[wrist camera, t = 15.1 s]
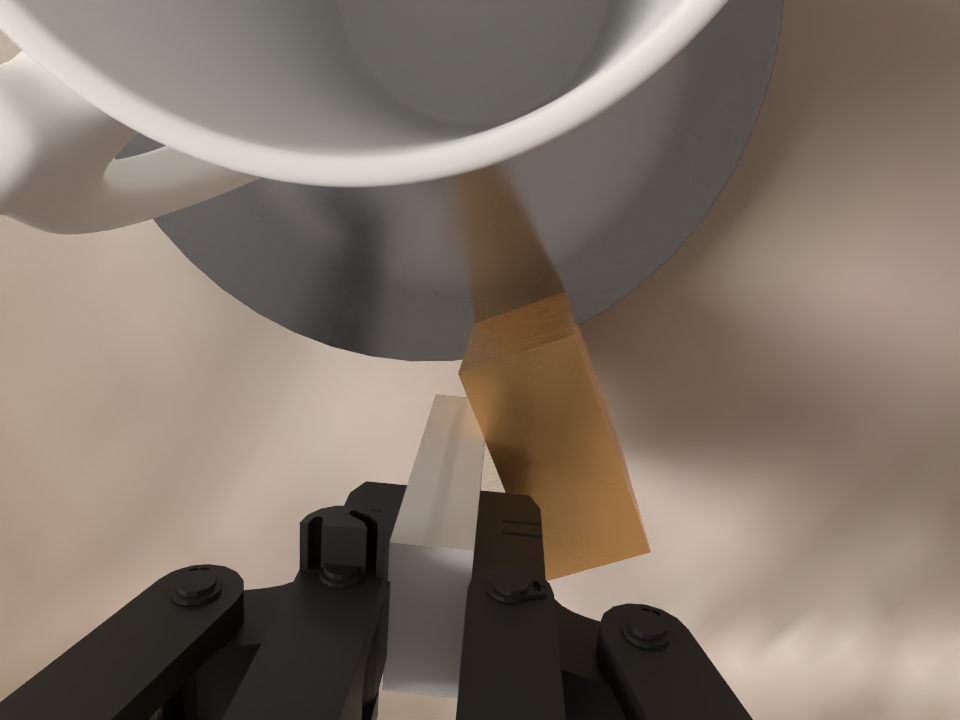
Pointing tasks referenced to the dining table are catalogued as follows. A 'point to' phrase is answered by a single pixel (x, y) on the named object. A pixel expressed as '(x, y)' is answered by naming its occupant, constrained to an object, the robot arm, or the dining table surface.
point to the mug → (300, 93)
